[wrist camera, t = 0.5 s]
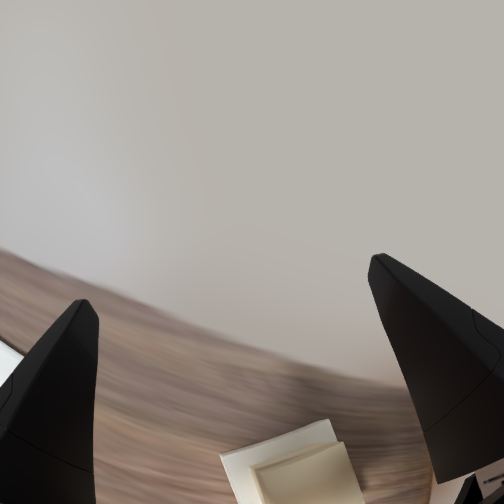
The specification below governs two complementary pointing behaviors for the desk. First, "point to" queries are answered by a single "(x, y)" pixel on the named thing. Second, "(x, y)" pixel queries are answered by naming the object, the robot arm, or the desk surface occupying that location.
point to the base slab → (269, 456)
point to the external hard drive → (8, 361)
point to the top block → (308, 477)
